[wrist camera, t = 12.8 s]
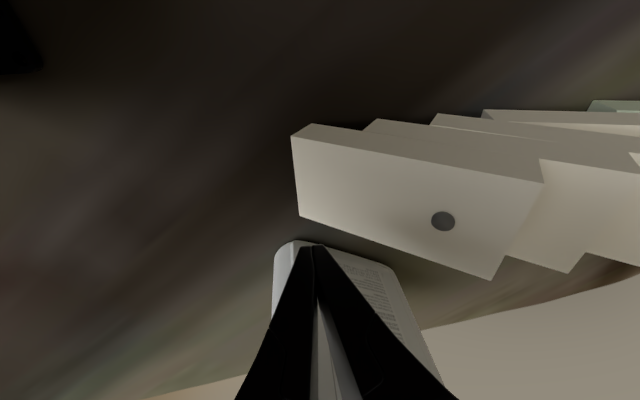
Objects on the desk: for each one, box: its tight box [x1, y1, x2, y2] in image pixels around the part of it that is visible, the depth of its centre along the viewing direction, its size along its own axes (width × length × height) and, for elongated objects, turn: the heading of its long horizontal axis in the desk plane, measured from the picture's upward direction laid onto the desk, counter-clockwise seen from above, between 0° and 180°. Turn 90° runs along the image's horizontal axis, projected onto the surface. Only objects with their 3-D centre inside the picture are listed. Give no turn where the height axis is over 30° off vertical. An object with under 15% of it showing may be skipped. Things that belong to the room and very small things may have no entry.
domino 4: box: [430, 113, 640, 267], centre depth 13 cm, size 5×2×10 cm
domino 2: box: [362, 119, 640, 274], centre depth 13 cm, size 5×2×10 cm
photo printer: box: [271, 240, 445, 400], centre depth 16 cm, size 10×4×12 cm, turn 62°
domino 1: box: [291, 123, 544, 281], centre depth 13 cm, size 5×2×10 cm
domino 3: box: [481, 109, 640, 137], centre depth 15 cm, size 5×2×10 cm
